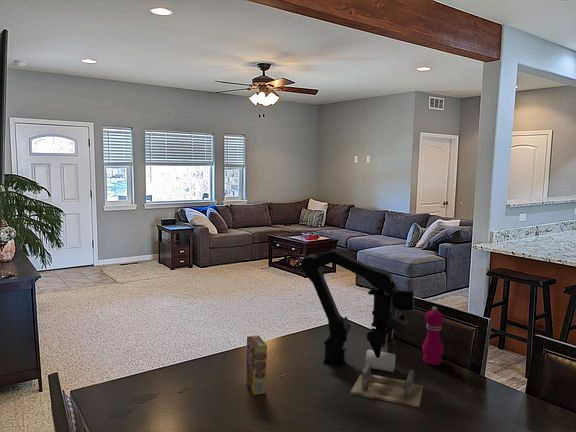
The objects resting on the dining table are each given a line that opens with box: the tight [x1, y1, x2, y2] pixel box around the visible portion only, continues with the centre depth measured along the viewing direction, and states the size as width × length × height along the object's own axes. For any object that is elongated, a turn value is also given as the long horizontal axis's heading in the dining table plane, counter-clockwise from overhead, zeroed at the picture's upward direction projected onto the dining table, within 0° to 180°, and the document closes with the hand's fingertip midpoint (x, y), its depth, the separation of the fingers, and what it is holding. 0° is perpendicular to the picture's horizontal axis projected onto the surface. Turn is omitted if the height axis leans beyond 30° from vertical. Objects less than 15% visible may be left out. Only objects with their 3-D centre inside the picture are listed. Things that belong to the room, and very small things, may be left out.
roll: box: [364, 349, 396, 373], centre depth 153 cm, size 9×6×6 cm, turn 68°
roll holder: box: [350, 362, 424, 408], centre depth 138 cm, size 20×12×6 cm, turn 68°
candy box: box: [245, 334, 268, 396], centre depth 138 cm, size 9×4×15 cm, turn 20°
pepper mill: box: [421, 306, 444, 366], centre depth 159 cm, size 7×7×20 cm
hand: (380, 352), depth 153 cm, fingers open, 9 cm apart
